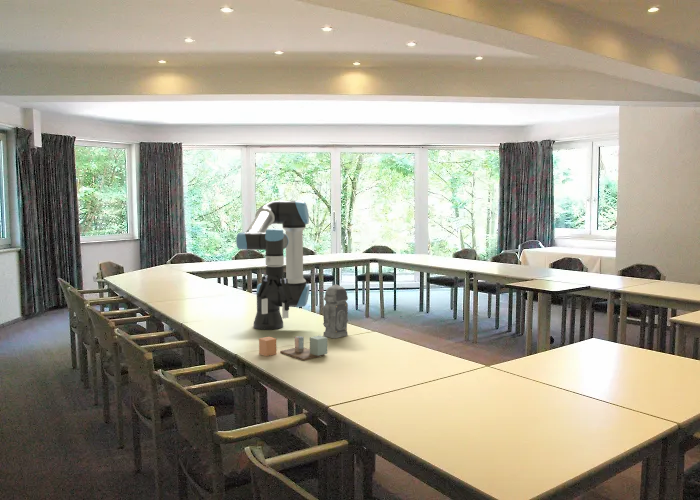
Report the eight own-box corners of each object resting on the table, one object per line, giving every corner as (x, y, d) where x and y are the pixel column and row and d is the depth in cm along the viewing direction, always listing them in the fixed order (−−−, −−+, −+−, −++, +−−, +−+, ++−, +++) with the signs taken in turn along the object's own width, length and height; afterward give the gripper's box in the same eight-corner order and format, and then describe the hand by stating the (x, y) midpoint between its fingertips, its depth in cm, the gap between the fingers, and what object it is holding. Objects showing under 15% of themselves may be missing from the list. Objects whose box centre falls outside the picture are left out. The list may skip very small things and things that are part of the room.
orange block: (259, 353, 235) (259, 338, 234) (269, 351, 238) (269, 336, 238) (266, 356, 231) (266, 340, 230) (276, 354, 235) (276, 338, 234)
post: (294, 351, 236) (294, 337, 235) (299, 350, 238) (299, 336, 237) (298, 352, 234) (298, 338, 234) (303, 351, 236) (303, 337, 235)
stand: (280, 352, 237) (280, 350, 237) (300, 348, 244) (300, 346, 244) (303, 360, 225) (303, 358, 225) (324, 355, 232) (324, 353, 232)
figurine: (352, 334, 270) (352, 283, 268) (331, 339, 260) (331, 286, 258) (338, 331, 277) (338, 281, 275) (317, 336, 266) (317, 284, 264)
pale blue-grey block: (309, 353, 233) (309, 337, 232) (319, 351, 236) (319, 335, 236) (317, 355, 229) (317, 339, 229) (327, 353, 233) (327, 337, 232)
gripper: (249, 264, 239) (249, 313, 241) (287, 268, 222) (287, 321, 224) (263, 263, 245) (263, 310, 246) (301, 267, 228) (301, 318, 229)
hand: (274, 315), depth 235 cm, fingers open, 13 cm apart
